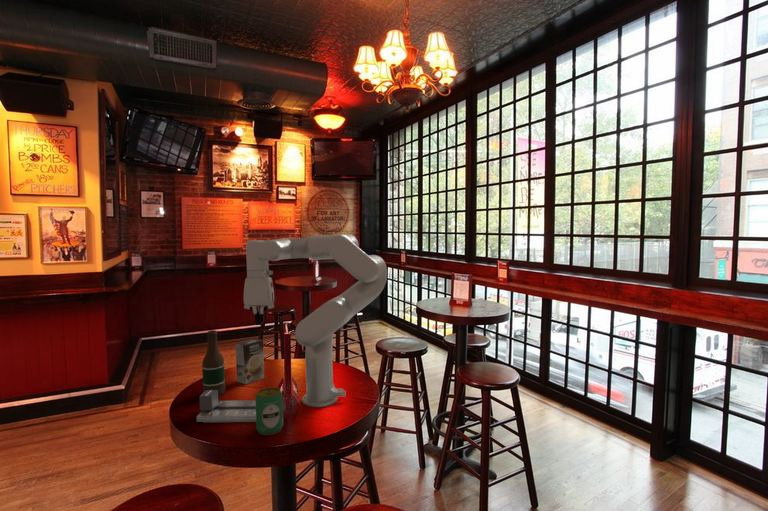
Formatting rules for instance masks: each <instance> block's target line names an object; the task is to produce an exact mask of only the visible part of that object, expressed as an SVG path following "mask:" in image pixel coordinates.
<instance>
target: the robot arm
mask: <svg viewBox="0 0 768 511" xmlns="http://www.w3.org/2000/svg"><path fill="white" fill-rule="evenodd" d="M359 244H360V243H359V242H358V239H357V237H356V236H354V235H353V234H349V233H339V234H338V233H337V234H324V235H321V234H320V235H319V234H318V235H310V236H307V237H298V238H295V237H294V238H280V239H279V238H277V239H270V240H269V239H268V240H264V239H260V240H259V239H257V240H248V241H246V245H245V250H246V251H245V253H246V254H245V255H246V278H245V280H244V287H243V304H244V306H243V308H244V309H245V310H250V311H251V312H252V313H253V315H254V323H255V324H256V326H262V325H263V324H264V323H265V312H267V311H268V310H270V309H274V308H275V305H274V304H275V290H274V285H273V279H272V277H270V276H271V275H272V276H273V274H274V271H273V270H270V269H269V267H270V266H269V261H271V262H277V261H281V260H290V259H310V260H312V261H320V260H321V261H322V260H334V261H335V262H336V263H337V264H338V265H340V266H341V267H342V268H343V269H344V270H345V271H347V273H349V274H351V276H352V277H354V279H356V280H358V281H356V282H355V283H354V284H352V285H351V286H350V287H349V288H348V289H346V290H345V291H344V292H342V293H341V294H339V295H337V296H336V297H333V298H331V299H330V300H327V301H326V302H324V303H323V304H322V305H320V306H319V307H318V308H316V309H315V310H314V311H313V312H311V313H310V314H308V315H307V316H306V317H305V318H303V319H301V320H300V321H299V322H298V324H297V325H296V328H295V331H294V336H295V340H296V341H297V343H298V344H299V345H301V346H302V347H305V358H304V360H305V386H306V387H305V388H306V389H305V390H306V391H305V392H306V394H304V395H303V396H302V398H301V402H302V404H304V406H307V407H310V408H323V407H329V406H331V405H334V404H335V403H337V401H338V398H339V397H346V390H344V388H336V387H335V386H336V385H335V384H334V372H333V369H334V366H333V340H334V333H335V332H337V331H338V330H339V329H341V328H342V327H343V326H344V325H346V324H347V323H348V322H349V321H350V320H351V319H352V318H353V317H354V316H356V314H358V313H359V312H360V311H362V310H363V309H364V308H366V307H367V306H368V305H369V304H371V303H372V302H373V301H374V300H376V299H377V297H379V296H380V294H382V291H383V290H384V288H385V285H386V284H387V281H388V280H387V279H388V267H387V263H386V262H385V260H384V259H383V258H382V257H381V256H380V255H376V254H371V255H370V254H367V253H366V252H365V251H363V250H362V249H361V248H360V245H359ZM259 307H260V308H259Z"/></svg>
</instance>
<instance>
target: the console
mask: <svg viewBox="0 0 768 511" xmlns="http://www.w3.org/2000/svg"><path fill="white" fill-rule="evenodd" d="M197 422H203V423H256V401H255V399H251V400H250V399H249V400H248V399H247V400H245V399H244V400H238V399H237V400H218V405H217V406H216V407H215V408H214V409H213V410H201V412H199V414H197V415H196V423H197Z"/></svg>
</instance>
